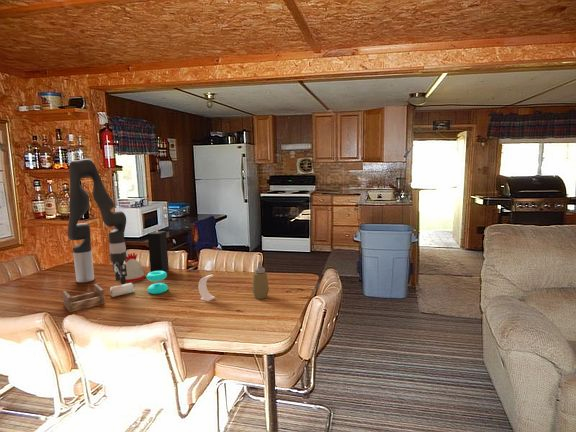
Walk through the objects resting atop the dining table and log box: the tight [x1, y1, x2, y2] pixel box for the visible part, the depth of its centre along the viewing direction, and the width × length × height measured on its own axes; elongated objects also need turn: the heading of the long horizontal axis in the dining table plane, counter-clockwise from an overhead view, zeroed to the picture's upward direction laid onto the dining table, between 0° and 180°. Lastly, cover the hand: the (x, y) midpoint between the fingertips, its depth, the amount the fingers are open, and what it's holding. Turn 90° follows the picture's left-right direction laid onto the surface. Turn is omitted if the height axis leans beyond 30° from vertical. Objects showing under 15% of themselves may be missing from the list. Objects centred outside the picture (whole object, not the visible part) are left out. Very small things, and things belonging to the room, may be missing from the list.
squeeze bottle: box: [252, 260, 270, 300], centre depth 181 cm, size 8×8×18 cm
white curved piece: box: [197, 274, 216, 302], centre depth 181 cm, size 5×6×12 cm
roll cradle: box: [62, 283, 105, 313], centre depth 178 cm, size 15×12×7 cm
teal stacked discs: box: [145, 271, 169, 295], centre depth 194 cm, size 10×10×10 cm
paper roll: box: [109, 282, 135, 298], centre depth 191 cm, size 11×5×5 cm, turn 131°
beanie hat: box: [119, 252, 146, 283], centre depth 217 cm, size 14×14×15 cm
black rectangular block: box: [147, 226, 170, 273], centre depth 228 cm, size 8×8×28 cm
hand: (120, 282), depth 190 cm, fingers open, 8 cm apart
